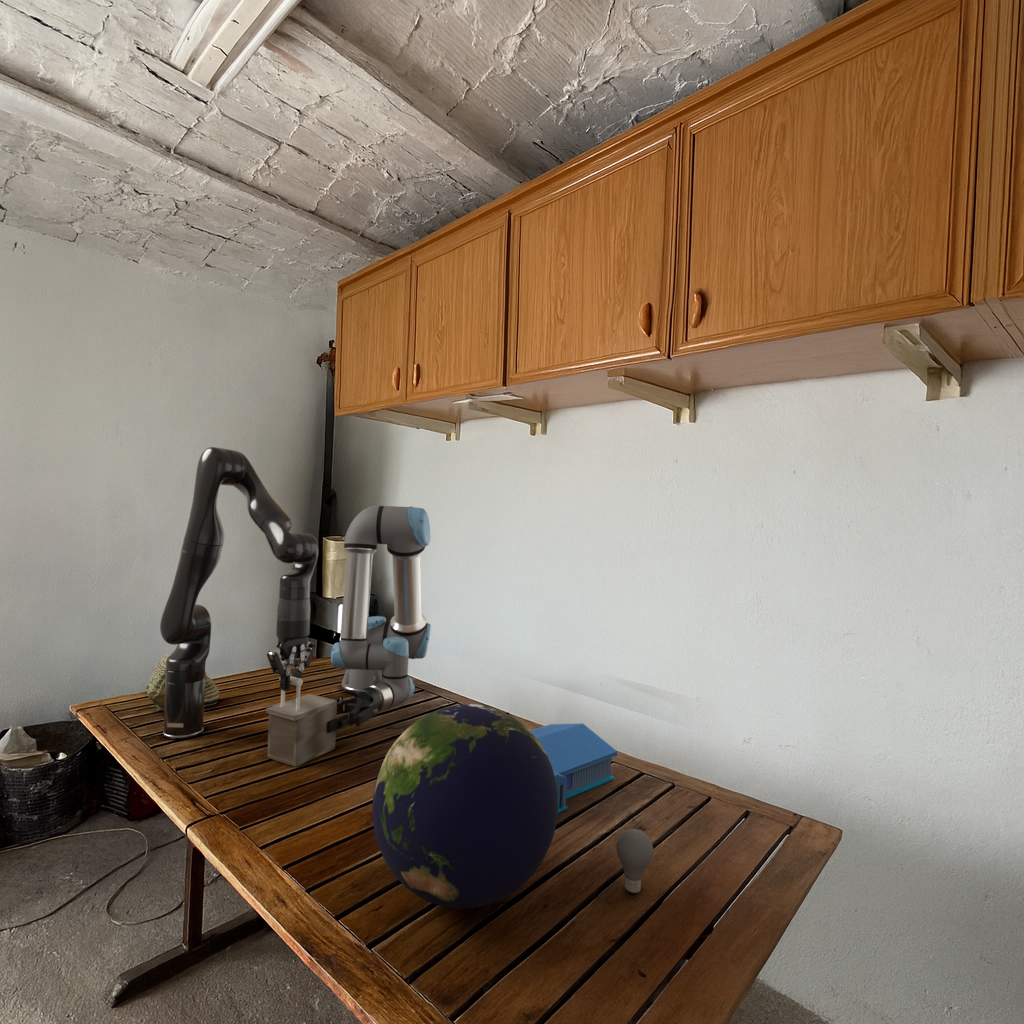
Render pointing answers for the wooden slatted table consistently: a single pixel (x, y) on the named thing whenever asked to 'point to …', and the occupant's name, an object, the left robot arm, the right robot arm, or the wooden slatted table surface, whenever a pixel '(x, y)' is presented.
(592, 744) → the model building
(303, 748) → the chest
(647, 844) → the light bulb
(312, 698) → the lid
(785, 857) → the wooden slatted table surface
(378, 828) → the globe
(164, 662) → the fossil
